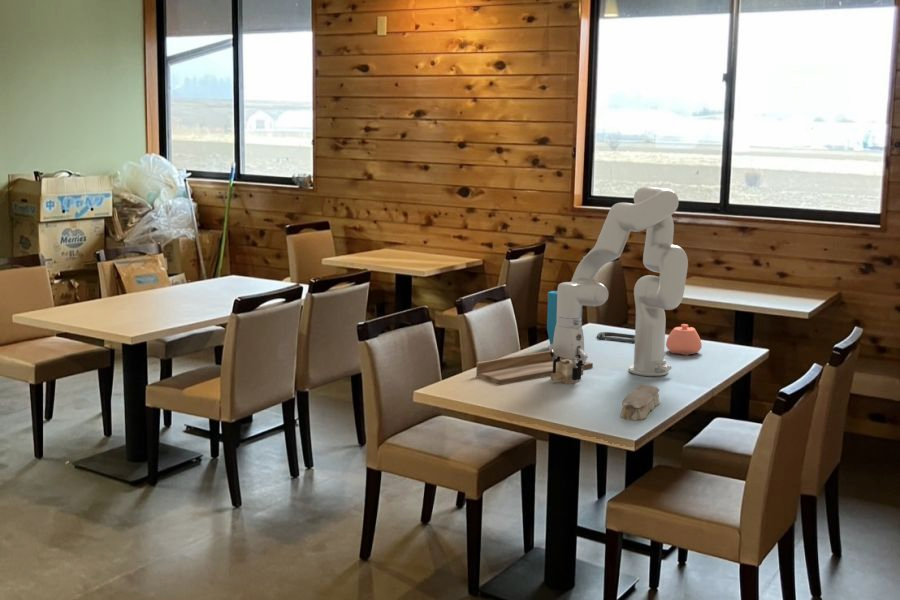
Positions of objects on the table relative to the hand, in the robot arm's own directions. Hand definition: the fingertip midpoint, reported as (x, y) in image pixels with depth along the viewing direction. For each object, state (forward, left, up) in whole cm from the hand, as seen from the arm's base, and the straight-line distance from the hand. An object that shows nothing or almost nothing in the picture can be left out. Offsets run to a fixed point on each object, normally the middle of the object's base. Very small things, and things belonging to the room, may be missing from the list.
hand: (566, 376), depth 306 cm
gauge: (0, 0, -2) cm, 2 cm away
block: (+35, -30, -2) cm, 46 cm away
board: (+14, +1, -2) cm, 14 cm away
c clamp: (+34, -58, -2) cm, 67 cm away
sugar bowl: (+7, -62, -2) cm, 63 cm away
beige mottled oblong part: (-35, +3, -2) cm, 35 cm away
